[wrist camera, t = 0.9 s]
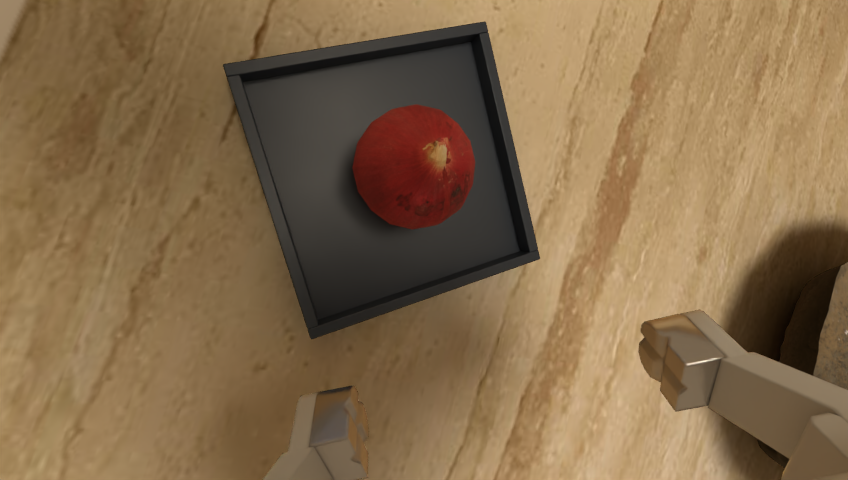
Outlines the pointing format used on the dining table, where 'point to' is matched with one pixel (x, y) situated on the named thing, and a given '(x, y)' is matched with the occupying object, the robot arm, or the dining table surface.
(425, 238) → the tray
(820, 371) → the stone bowl
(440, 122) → the onion
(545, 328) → the dining table surface
